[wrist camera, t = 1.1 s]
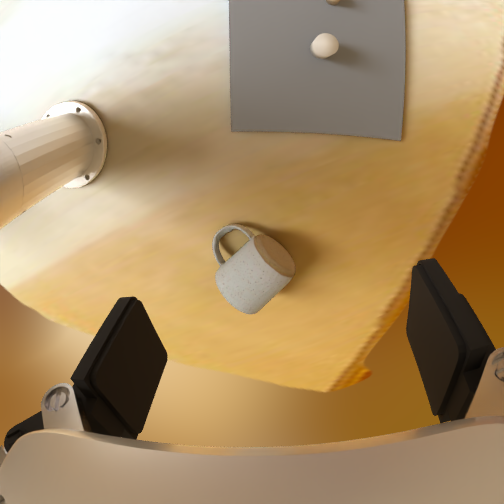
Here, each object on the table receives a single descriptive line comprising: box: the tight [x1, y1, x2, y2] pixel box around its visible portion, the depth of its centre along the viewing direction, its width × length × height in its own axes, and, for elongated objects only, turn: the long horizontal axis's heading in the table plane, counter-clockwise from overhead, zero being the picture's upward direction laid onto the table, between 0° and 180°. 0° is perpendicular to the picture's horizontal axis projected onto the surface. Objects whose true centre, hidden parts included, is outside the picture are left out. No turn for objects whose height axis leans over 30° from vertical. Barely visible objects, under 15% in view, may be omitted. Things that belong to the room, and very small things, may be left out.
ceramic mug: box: [212, 224, 296, 314], centre depth 41 cm, size 11×8×8 cm
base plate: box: [229, 0, 405, 141], centre depth 28 cm, size 20×20×6 cm
